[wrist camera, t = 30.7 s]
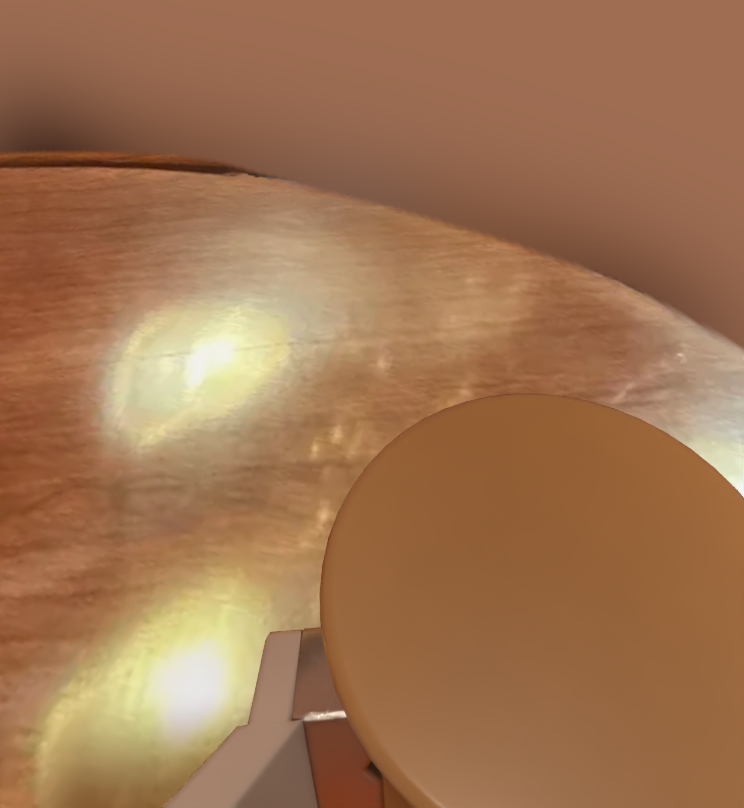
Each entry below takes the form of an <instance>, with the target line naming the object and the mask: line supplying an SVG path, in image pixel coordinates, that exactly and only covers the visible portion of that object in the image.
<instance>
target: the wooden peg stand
mask: <svg viewBox="0 0 744 808" xmlns="http://www.w3.org/2000/svg"><path fill="white" fill-rule="evenodd" d="M320 621H321V631H322V637H323V644H324V650H325V656H326V661H327V664H328V667H329V671H330V674H331V678H332V681H333V684H334V688H335V691H336V694H337V696H338V698H339V701H340V703H341V705H342V708H343V710H344V712H345V715H346V717H347V719H348V721H349V724H350V726H351V728H352V729H353V731H354V733H355V734H356V736H357V738H358V740H359V741H360V743H361V745H362V746H363V748H364V750H365V751H366V753H367V755H368V756H369V758H370V760H371V761H372V762H373V763H374V765H375V766H376V767H377V769H378V770H379V771H380V772H381V774H382V775H383V780H384V800H385V808H744V498H743V496H742V495H741V494H740V493H739V492H738V490H737V489H736V488H735V487H733V486H732V485H731V484H730V483H729V482H728V481H727V480H726V479H725V478H724V477H723V476H722V475H721V474H720V473H719V472H718V471H717V470H716V469H715V468H714V467H713V466H711V465H710V464H709V463H708V462H706V461H705V460H704V459H703V458H701V457H700V456H699V455H698V454H696V453H695V452H694V451H693V450H692V449H690V448H688V447H687V446H685V445H684V444H682V443H681V442H679V441H678V440H676V439H675V438H673V437H672V436H670V435H669V434H667V433H665V432H664V431H662V430H660V429H658V428H656V427H654V426H652V425H650V424H648V423H647V422H645V421H643V420H641V419H638V418H636V417H633V416H631V415H629V414H626V413H624V412H621V411H619V410H617V409H614V408H610V407H607V406H604V405H600V404H597V403H594V402H591V401H586V400H581V399H576V398H571V397H566V396H558V395H548V394H507V395H498V396H489V397H485V398H480V399H476V400H471V401H467V402H464V403H461V404H458V405H455V406H452V407H449V408H446V409H443V410H441V411H439V412H437V413H435V414H433V415H431V416H429V417H427V418H425V419H423V420H421V421H420V422H418V423H416V424H415V425H413V426H412V427H410V428H409V429H407V430H406V431H404V432H402V433H401V434H400V435H399V436H398V437H397V438H395V439H394V440H393V441H392V442H391V443H389V444H388V445H387V446H386V447H385V448H383V450H382V451H381V452H380V453H379V454H378V455H377V456H376V457H375V458H374V459H373V460H372V461H371V462H370V464H369V465H368V466H367V467H366V468H365V469H364V470H363V472H362V473H361V475H360V476H359V477H358V479H357V480H356V482H355V483H354V485H353V486H352V487H351V489H350V490H349V492H348V494H347V496H346V498H345V500H344V502H343V504H342V506H341V508H340V509H339V511H338V514H337V516H336V519H335V522H334V525H333V527H332V530H331V533H330V535H329V538H328V543H327V547H326V552H325V556H324V560H323V565H322V575H321V585H320Z"/></svg>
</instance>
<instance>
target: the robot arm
mask: <svg viewBox="0 0 744 808" xmlns="http://www.w3.org/2000/svg"><path fill="white" fill-rule="evenodd" d="M163 808H385V800H384V780H383V775H382V774H381V772H380V771H379V770H378V769H377V767H376V766H375V765H374V763H373V762H372V761H371V760H370V758H369V756H368V755H367V753H366V751H365V750H364V748H363V746H362V745H361V743H360V741H359V740H358V738H357V736H356V734H355V733H354V731H353V729H352V728H351V726H350V724H349V721H348V719H347V717H346V715H345V712H344V710H343V708H342V705H341V703H340V701H339V698H338V696H337V694H336V691H335V688H334V684H333V681H332V678H331V674H330V671H329V667H328V664H327V661H326V656H325V650H324V644H323V637H322V631H321V628H308V629H304V630H289V631H277V632H270V633H269V635H268V637H267V638H266V640H265V645H264V650H263V655H262V660H261V664H260V669H259V674H258V679H257V683H256V688H255V693H254V698H253V703H252V707H251V712H250V717H249V722H248V725H246V726H237V727H236V728H235V729H234V730H233V731H232V732H231V734H230V735H229V736H228V737H227V738H226V739H225V740H224V741H223V742H222V743H221V744H220V745H219V747H218V748H217V749H216V750H215V751H214V752H213V753H212V754H211V755H210V756H209V757H208V759H207V760H206V761H205V762H204V763H203V764H202V765H201V766H200V767H199V768H198V769H197V771H196V772H195V773H194V774H193V775H192V776H191V777H190V778H189V779H188V780H187V781H186V783H185V784H184V785H183V786H182V787H181V788H180V789H179V790H178V791H177V792H176V793H175V794H174V796H173V797H172V798H171V799H170V800H169V801H168V802H167V803H166V804H165V805H164V806H163Z"/></svg>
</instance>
